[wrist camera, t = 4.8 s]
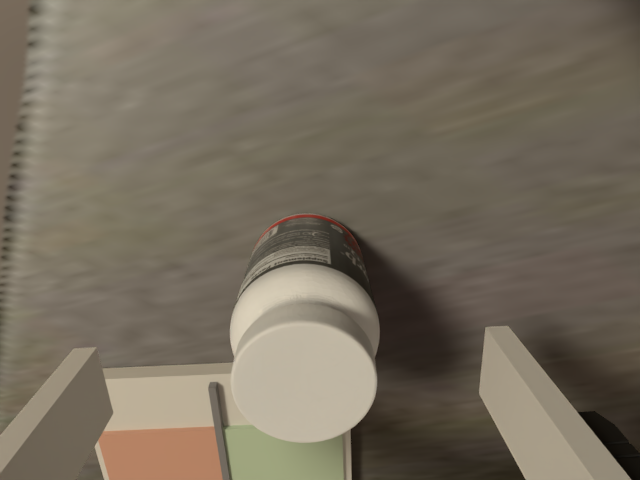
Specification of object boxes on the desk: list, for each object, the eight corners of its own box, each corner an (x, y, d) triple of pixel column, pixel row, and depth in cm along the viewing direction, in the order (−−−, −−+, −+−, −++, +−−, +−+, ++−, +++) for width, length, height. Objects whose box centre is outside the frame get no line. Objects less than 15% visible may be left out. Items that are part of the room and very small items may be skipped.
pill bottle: (369, 299, 24) (405, 443, 15) (267, 319, 24) (240, 470, 15) (351, 199, 22) (379, 292, 13) (239, 221, 22) (189, 328, 13)
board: (84, 369, 25) (71, 386, 24) (347, 357, 25) (349, 374, 24) (131, 539, 30) (122, 562, 29) (351, 530, 30) (353, 552, 29)
